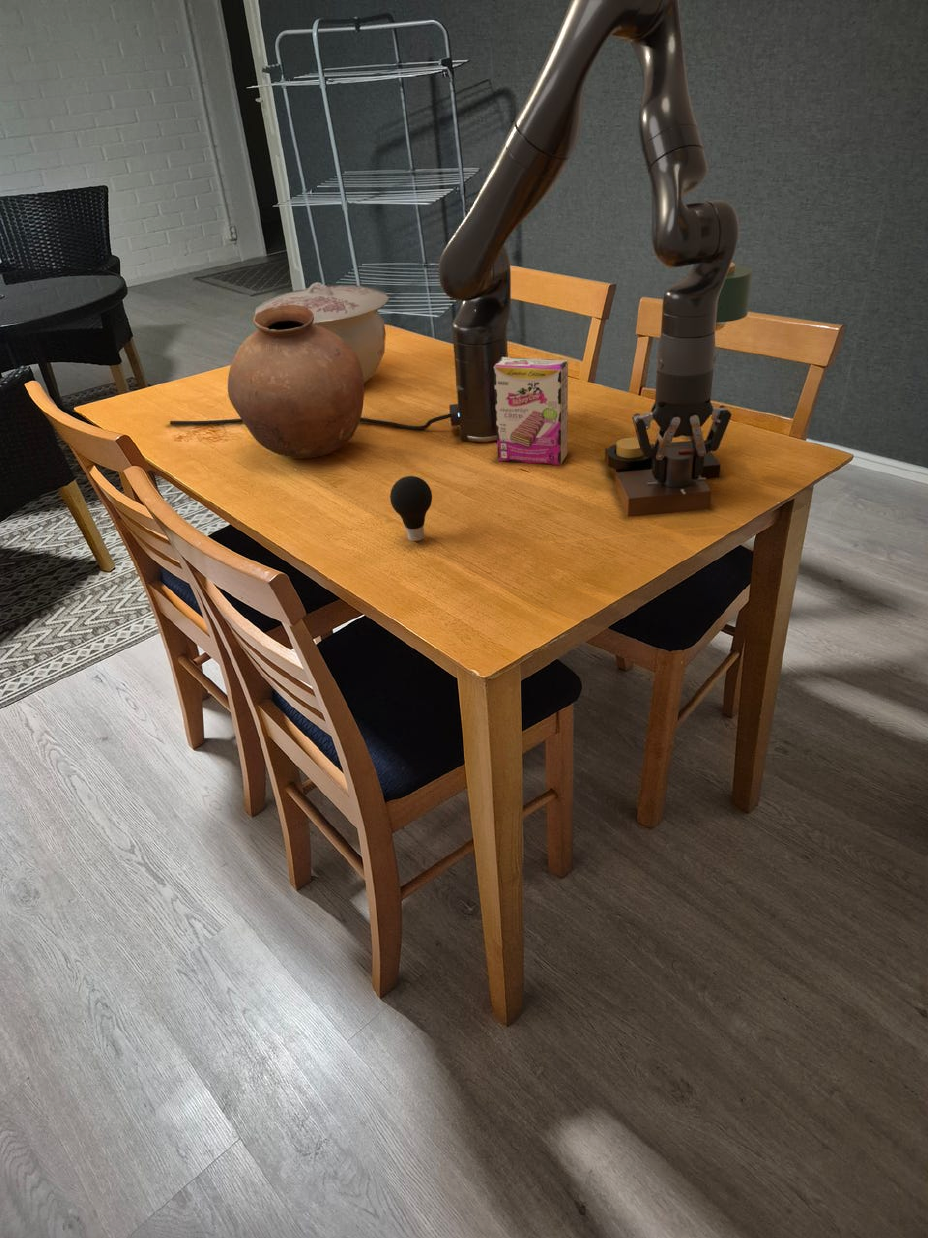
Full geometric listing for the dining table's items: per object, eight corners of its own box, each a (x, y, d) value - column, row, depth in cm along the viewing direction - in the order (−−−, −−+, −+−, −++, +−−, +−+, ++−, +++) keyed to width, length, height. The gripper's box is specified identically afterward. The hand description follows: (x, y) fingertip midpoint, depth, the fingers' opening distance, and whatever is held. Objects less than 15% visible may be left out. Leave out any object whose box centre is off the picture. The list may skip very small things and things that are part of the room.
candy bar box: (496, 462, 143) (491, 365, 133) (505, 450, 146) (501, 355, 137) (561, 467, 139) (561, 368, 130) (568, 454, 143) (568, 358, 134)
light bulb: (395, 533, 124) (387, 471, 119) (435, 529, 125) (429, 467, 119) (396, 553, 120) (387, 489, 114) (437, 549, 120) (431, 484, 114)
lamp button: (619, 460, 131) (619, 449, 130) (613, 449, 135) (613, 438, 134) (647, 457, 131) (648, 447, 130) (641, 446, 135) (641, 436, 134)
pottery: (307, 419, 166) (282, 285, 152) (398, 439, 154) (381, 296, 140) (218, 463, 151) (181, 320, 137) (311, 489, 139) (282, 335, 125)
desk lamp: (684, 448, 132) (698, 274, 117) (669, 427, 139) (680, 260, 125) (741, 443, 132) (762, 268, 117) (723, 422, 139) (741, 254, 125)
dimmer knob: (665, 489, 123) (667, 458, 121) (658, 476, 127) (660, 446, 124) (695, 486, 123) (698, 455, 121) (687, 473, 127) (689, 443, 124)
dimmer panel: (628, 517, 123) (629, 498, 121) (615, 490, 131) (615, 471, 129) (712, 510, 123) (714, 490, 122) (694, 482, 131) (696, 464, 129)
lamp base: (611, 487, 132) (612, 463, 129) (599, 461, 140) (600, 438, 138) (719, 477, 132) (721, 453, 130) (700, 452, 140) (702, 429, 138)
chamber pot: (392, 401, 171) (379, 294, 159) (258, 409, 172) (235, 304, 161) (402, 357, 194) (391, 261, 182) (284, 365, 195) (266, 270, 184)
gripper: (728, 351, 118) (717, 464, 128) (627, 360, 118) (623, 472, 128) (746, 368, 112) (732, 485, 122) (639, 377, 112) (634, 494, 122)
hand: (676, 478), depth 125 cm, fingers closed on dimmer knob, 4 cm apart
